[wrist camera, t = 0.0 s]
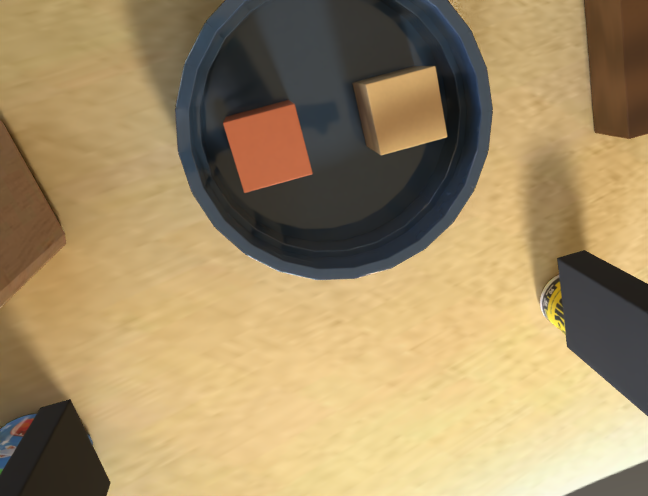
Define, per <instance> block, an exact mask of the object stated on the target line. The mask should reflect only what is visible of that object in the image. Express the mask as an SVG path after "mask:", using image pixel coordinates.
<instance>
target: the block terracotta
mask: <svg viewBox="0 0 648 496" xmlns="http://www.w3.org/2000/svg"><path fill="white" fill-rule="evenodd" d="M223 125H224V128H225V132H226V135H227V138H228V141H229V145H230V148H231V151H232V155H233V158H234V161H235V164H236V168H237V171H238V174H239V177H240V181H241V184H242V187H243V191H244V193H246V192H250V191H254V190H257V189H261V188H264V187H268V186H272V185H275V184H279V183H283V182H286V181H290V180H294V179H297V178H301V177H304V176H308V175H312V174H313V173H312V169H311V165H310V161H309V157H308V153H307V150H306V146H305V142H304V138H303V134H302V130H301V126H300V122H299V119H298V115H297V111H296V107H295V104H294V103H292V102H291V101H290V100H286V101H283V102H279V103H275V104H271V105H268V106H264V107H260V108H256V109H253V110H249V111H245V112H241V113H238V114H234V115H230V116H227V117H225V120H224V122H223Z"/></svg>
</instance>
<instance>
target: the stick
mask: <svg viewBox="0 0 648 496" xmlns="http://www.w3.org/2000/svg"><path fill="white" fill-rule="evenodd" d="M585 13H586V25H587V38H588V50H589V63H590V76H591V88H592V101H593V114H594V126H595V133H599V134H605V135H610V136H616V137H621V138H627V139H631V138H634V137H638V136H642V135H645V134H648V0H585Z"/></svg>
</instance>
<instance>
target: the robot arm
mask: <svg viewBox="0 0 648 496" xmlns="http://www.w3.org/2000/svg"><path fill="white" fill-rule="evenodd" d="M557 260H558V269H559V278H560V287H561V296H562V305H563V314H564V323H565V332H566V342H567V347H568V348H569V349H570V350H571V351H573V352H574V353H575V354H576V355H577V356H578V357H580V358H581V359H582V360H583V361H584V362H585V363H587V364H588V365H589V366H590V367H591V368H592V369H594V370H595V371H596V372H597V373H598V374H599V375H600V376H602V377H603V378H604V379H605V380H606V381H607V382H609V383H610V384H611V385H612V386H613V387H614V388H616V389H617V390H618V391H619V392H620V393H621V394H623V395H624V396H625V397H626V398H627V399H628V400H630V401H631V402H632V403H633V404H634V405H635V406H637V407H638V408H639V409H640V410H641V411H642V412H644V413H645V414H646V415H647V416H648V284H647V283H645V282H643V281H641V280H639V279H638V278H636V277H634V276H632V275H630V274H628V273H626V272H624V271H622V270H621V269H619V268H617V267H615V266H613V265H611V264H609V263H607V262H606V261H604V260H602V259H600V258H598V257H596V256H594V255H592V254H590V253H589V252H587V251H585V250H583V251H580V252H577V253H573V254H570V255H566V256H563V257H559V258H557ZM109 486H110V481H109V479H108V477H107V475H106V473H105V470H104V468H103V466H102V464H101V462H100V460H99V458H98V456H97V454H96V452H95V450H94V447H93V445H92V443H91V441H90V439H89V437H88V435H87V433H86V431H85V429H84V427H83V424H82V422H81V420H80V418H79V416H78V414H77V412H76V410H75V408H74V406H73V404H72V402H71V399H69V400H66V401H62V402H59V403H55V404H52V405H48V406H45V407H41V408H40V409H39V411H38V413H37V414H36V416H35V418H34V419H33V421H32V423H31V424H30V426H29V428H28V429H27V431H26V433H25V434H24V436H23V437H22V439H21V441H20V442H19V444H18V446H17V447H16V449H15V451H14V452H13V454H12V456H11V457H10V459H9V460H8V462H7V464H6V465H5V467H4V469H3V470H2V472H1V474H0V496H106V495H107V492H108V489H109Z"/></svg>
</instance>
